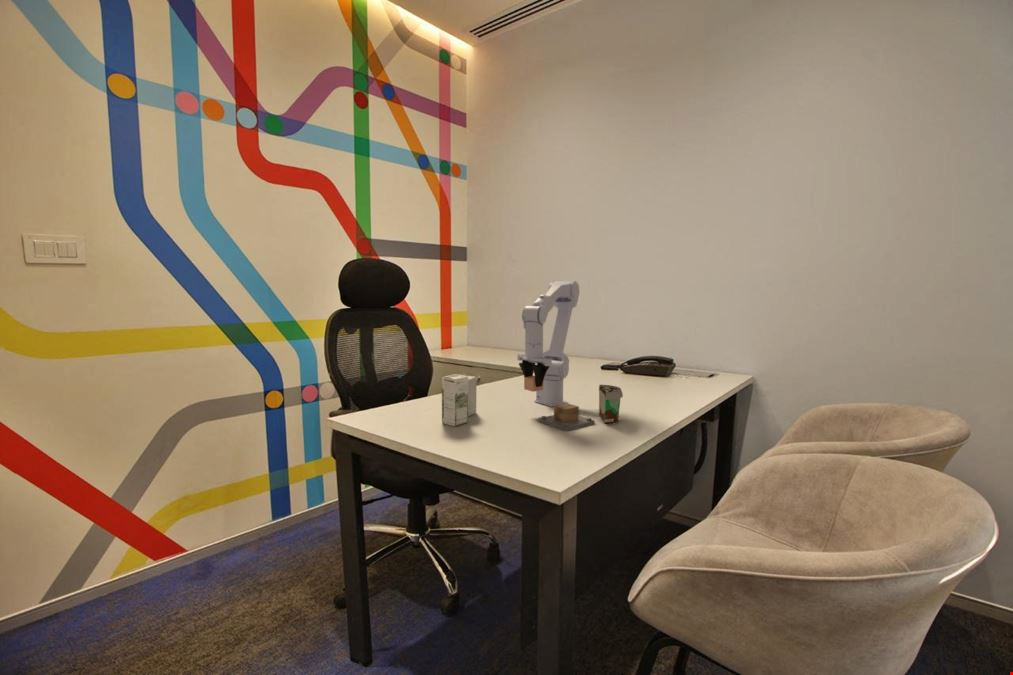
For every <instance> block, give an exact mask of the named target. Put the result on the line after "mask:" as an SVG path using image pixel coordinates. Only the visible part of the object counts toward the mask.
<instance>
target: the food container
mask: <svg viewBox="0 0 1013 675" xmlns="http://www.w3.org/2000/svg"><path fill="white" fill-rule="evenodd" d="M598 386H599V387H598V392H599V394H598V396H599V400H598V401H599V402H598V407H599V409H598V411H599V412H598V416H599V418H600V420H601V422H602V423H603V425H604V424H608V425H614V424H613V423H615V424H617V423H618V422H619V419H620V418H619V417H620V416H619V415H620V405H621V398H623V397H624V395H623V391H622V388H621V387H619V386H616V385H612V384H610V385H609V384H599V385H598ZM616 422H617V423H616Z"/></svg>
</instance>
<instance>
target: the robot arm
mask: <svg viewBox="0 0 1013 675" xmlns="http://www.w3.org/2000/svg"><path fill="white" fill-rule="evenodd" d="M579 296H580V285H579V283H578V282H577V281H576V280H573V281H571V280H569V281H559V280H557V281H555V280H552V281H550V283H549V284H548V291H547V292H546V293H545V294H540V295H539V296H538V297H537V299H536V300H535V301H534V302H532V304H530V305H526V306H525V307H523V309H522V313H521V320H522V323H523V329H524V330H525V334H524V346H525V347H524V351H525V352H524V353H520V354H517V361H522V362H519V363H518V366H519V368H520V369H521V371H522V374H523V378H524V377H528V376H535V384H536V387H540V386H542V384H543V380H544V386H543V390H540V391H535V392H536V395H535V398H536V399H535V400H534V402H535V403H539V404H542V405H545V406H549V407H551V408H552V407H553V408H554V406H559V405H564V404H569V401H566V400H564V379H566V378H567V376H568V374H569V372H570V371H569V370H570V367H569V366H570V359H569V358H570V357H568V355H567V354H565V353H564V350H565V345H566V340H567V335H568V332H569V326H570V323H571V322H570V321H571V317H572V313H573V312H572V311H573V309H574V308H576V307H577V305H578V302H579ZM554 307H555V308H556V309H557V313H556V317H555V322H554V327H553V331H552V334H551V341H550V344H549V349H547V350H546V351H545V352H544V324H545V323H546V321H547V318H548V315H549V313H550V311H551V310H552V309H553V308H554Z"/></svg>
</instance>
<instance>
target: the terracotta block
mask: <svg viewBox="0 0 1013 675" xmlns="http://www.w3.org/2000/svg"><path fill="white" fill-rule="evenodd" d="M523 379H524V380H523V381H524V382H523V388H524V390H526V391H529V392H533V393H534V392H536V391H540V390H543V386H544V380H543V384H542V386H540V387H536V384H535V375H533V376H528V377H524V376H523Z"/></svg>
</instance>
